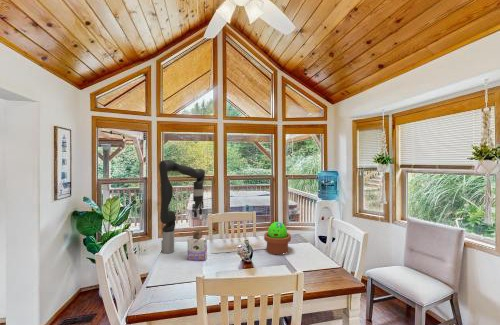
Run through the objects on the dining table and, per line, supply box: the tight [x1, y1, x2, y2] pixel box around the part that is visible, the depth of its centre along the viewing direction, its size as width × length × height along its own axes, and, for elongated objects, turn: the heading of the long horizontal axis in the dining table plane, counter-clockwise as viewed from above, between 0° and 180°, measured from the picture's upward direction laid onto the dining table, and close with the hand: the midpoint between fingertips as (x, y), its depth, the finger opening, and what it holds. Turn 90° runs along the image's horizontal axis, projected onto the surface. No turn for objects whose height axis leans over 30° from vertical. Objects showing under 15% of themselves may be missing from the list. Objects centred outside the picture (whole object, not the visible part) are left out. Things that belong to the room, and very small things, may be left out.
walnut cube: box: [192, 230, 203, 239], centre depth 188 cm, size 5×5×5 cm
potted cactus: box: [263, 221, 292, 255], centre depth 206 cm, size 22×22×25 cm
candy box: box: [187, 236, 208, 262], centre depth 188 cm, size 14×6×16 cm, turn 84°
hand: (198, 215), depth 191 cm, fingers open, 8 cm apart
